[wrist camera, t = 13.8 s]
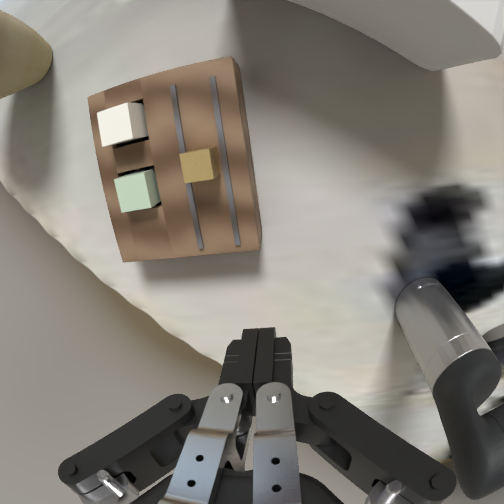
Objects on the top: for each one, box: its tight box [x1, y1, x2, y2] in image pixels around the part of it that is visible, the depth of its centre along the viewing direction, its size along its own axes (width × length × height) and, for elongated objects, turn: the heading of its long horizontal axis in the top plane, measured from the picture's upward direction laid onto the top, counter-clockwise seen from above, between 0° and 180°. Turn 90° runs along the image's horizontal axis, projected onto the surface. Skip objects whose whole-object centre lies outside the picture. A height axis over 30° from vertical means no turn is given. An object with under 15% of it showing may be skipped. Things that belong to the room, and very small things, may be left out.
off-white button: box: [97, 102, 149, 147], centre depth 30 cm, size 4×4×5 cm
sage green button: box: [114, 168, 161, 213], centre depth 34 cm, size 4×4×5 cm
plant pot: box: [0, 10, 52, 99], centre depth 25 cm, size 15×15×16 cm
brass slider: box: [179, 146, 220, 183], centre depth 30 cm, size 3×3×4 cm
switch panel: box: [88, 56, 262, 262], centre depth 35 cm, size 22×18×6 cm
